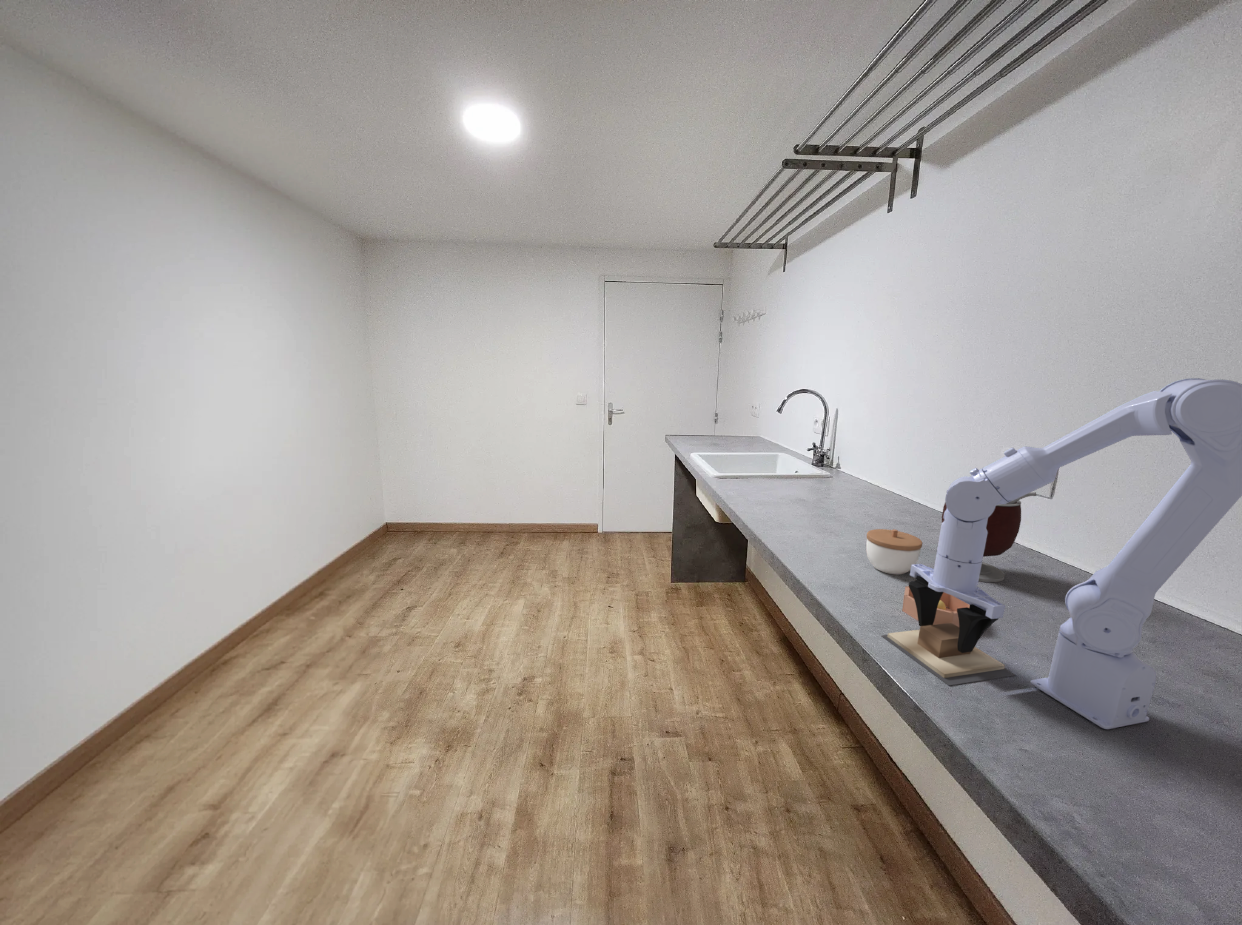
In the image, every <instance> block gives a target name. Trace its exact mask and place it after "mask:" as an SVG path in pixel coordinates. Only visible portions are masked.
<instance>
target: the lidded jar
mask: <svg viewBox="0 0 1242 925" xmlns="http://www.w3.org/2000/svg"><path fill="white" fill-rule="evenodd" d="M865 546H866V547H865V550H866V556H867V559H868V561H869V563H870V564H871V565H872V566H873V568H874V569H876V570H877V571H880V572H882V573H887V574H889V575H896V576H897V575H904V574H906V573H908V572H910V570H911V565H912V564H918V561H919V559H920V554H921V550H922V548H923V541H922V540H921V539H920V538H919V537H917V536H915V535H913V534H910V533H907V532H903V531H901V530H900V531H899V530H898V529H895V528H893V529H887V528H886V529H885V528H882V529H881V528H879V529H878V528H876V529H871V530H868V532H867V533H866V544H865Z"/></svg>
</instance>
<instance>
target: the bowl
mask: <svg viewBox="0 0 1242 925" xmlns="http://www.w3.org/2000/svg"><path fill="white" fill-rule="evenodd" d="M902 599H903V600H902V609H901V610H902V611H901V612H903V613H905V614H906V615H908V616H909V617H911V618H913V619H914V620H916V622H918V614H917V608H916V604H915V600H914V597H913V594H912V592H911V590H910V588H909V585H906V586H904V593H903V598H902ZM940 600H941V601H942V602H944V604H945V606H946V610H942V609H938V608H937V611H936V616H935V620H934V623H933V625H937V624H945V623H952V624H954V625H956V626H957V627H959V618H958V613H957V608H966V607H968V608H969V607H970V605H969V604H967V603H965V602H963V601H961V600H959V599H958V598H956V597H954V596H952V595H950V594H947V593H944V592H943V594H942V596H941V598H940Z"/></svg>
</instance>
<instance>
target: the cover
mask: <svg viewBox="0 0 1242 925" xmlns="http://www.w3.org/2000/svg"><path fill="white" fill-rule="evenodd" d="M886 635H887V637H888V638H890V639H891V640H893V641H894V642H895V643H897V644H898V645H899V646H901V647H902V648H904V649H905V650H906V651H908V652H909V653H910V654H912V655H913V656H915V657H916V658H917V659H919V660H920V661H921V662H923V663H924V664H926V665H927V666H928V667H930V668H931V669H932V670H934V671H935V672H936V673H938V674H939V675H941V676H942V677H943V678H947V677H954V676H960V675H967V674H974V673H981V672H987V671H994V670H1001V669H1004V668H1006V665H1005V664H1003V663H1002V662H1000V661H999V660H997V659H996V658H994V657H992V656H991V655H989V654H988V653H986V652H984V651H982V649H979V648H977V647H976V646H975V647H974V649H973V651H972V652H966V653H961V652H960V651H958V647H957V644H958V637H959V627H957V626H956V625H954V624H952V623H945V624H937V625H928V626H919V629H913V630H905V631H904V630H903V631H897V632H895V631H894V632H888V633H887V634H886Z"/></svg>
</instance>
